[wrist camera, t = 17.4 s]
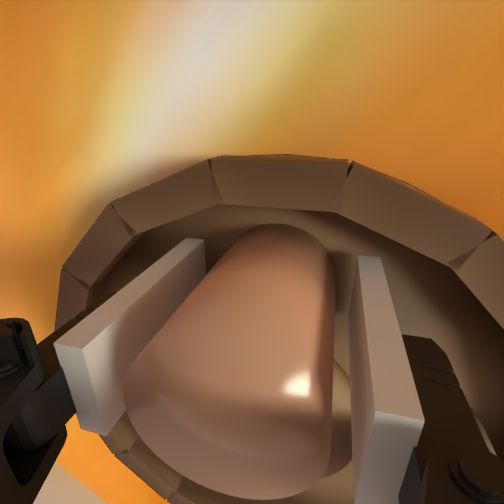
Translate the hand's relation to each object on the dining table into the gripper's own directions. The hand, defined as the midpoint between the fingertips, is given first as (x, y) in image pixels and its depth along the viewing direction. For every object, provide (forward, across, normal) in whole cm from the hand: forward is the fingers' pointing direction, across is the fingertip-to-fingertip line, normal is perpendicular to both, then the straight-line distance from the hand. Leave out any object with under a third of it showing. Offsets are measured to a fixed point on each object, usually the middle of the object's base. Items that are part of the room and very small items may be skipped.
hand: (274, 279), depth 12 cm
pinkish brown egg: (+1, 0, 0) cm, 1 cm away
